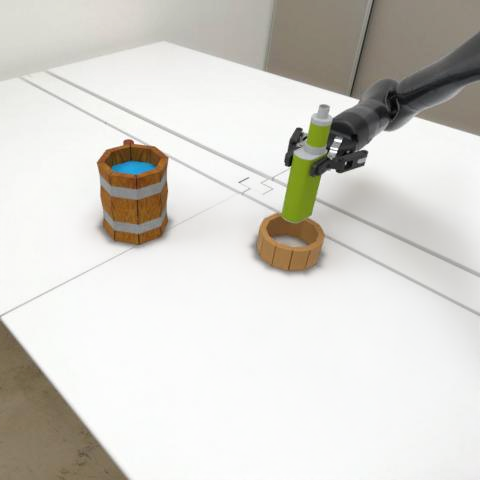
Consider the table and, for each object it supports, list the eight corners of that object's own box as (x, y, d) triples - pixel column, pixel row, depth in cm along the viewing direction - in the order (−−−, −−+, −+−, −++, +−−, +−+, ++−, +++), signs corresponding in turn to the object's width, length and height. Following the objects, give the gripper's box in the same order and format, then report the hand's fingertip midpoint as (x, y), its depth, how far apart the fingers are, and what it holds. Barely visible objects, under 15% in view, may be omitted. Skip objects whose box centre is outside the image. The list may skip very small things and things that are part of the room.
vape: (315, 212, 82) (342, 106, 70) (294, 225, 80) (318, 117, 67) (299, 203, 85) (322, 99, 72) (277, 215, 82) (298, 109, 69)
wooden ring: (324, 241, 90) (329, 222, 87) (311, 278, 82) (317, 258, 79) (266, 226, 94) (270, 206, 91) (249, 259, 86) (252, 239, 83)
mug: (173, 241, 90) (174, 175, 80) (104, 247, 89) (97, 181, 79) (159, 188, 105) (159, 127, 96) (100, 193, 104) (94, 132, 94)
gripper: (318, 101, 84) (265, 131, 75) (395, 124, 77) (346, 161, 67) (310, 138, 89) (259, 171, 80) (381, 163, 81) (334, 203, 72)
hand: (300, 166), depth 74 cm, fingers closed on vape, 4 cm apart
